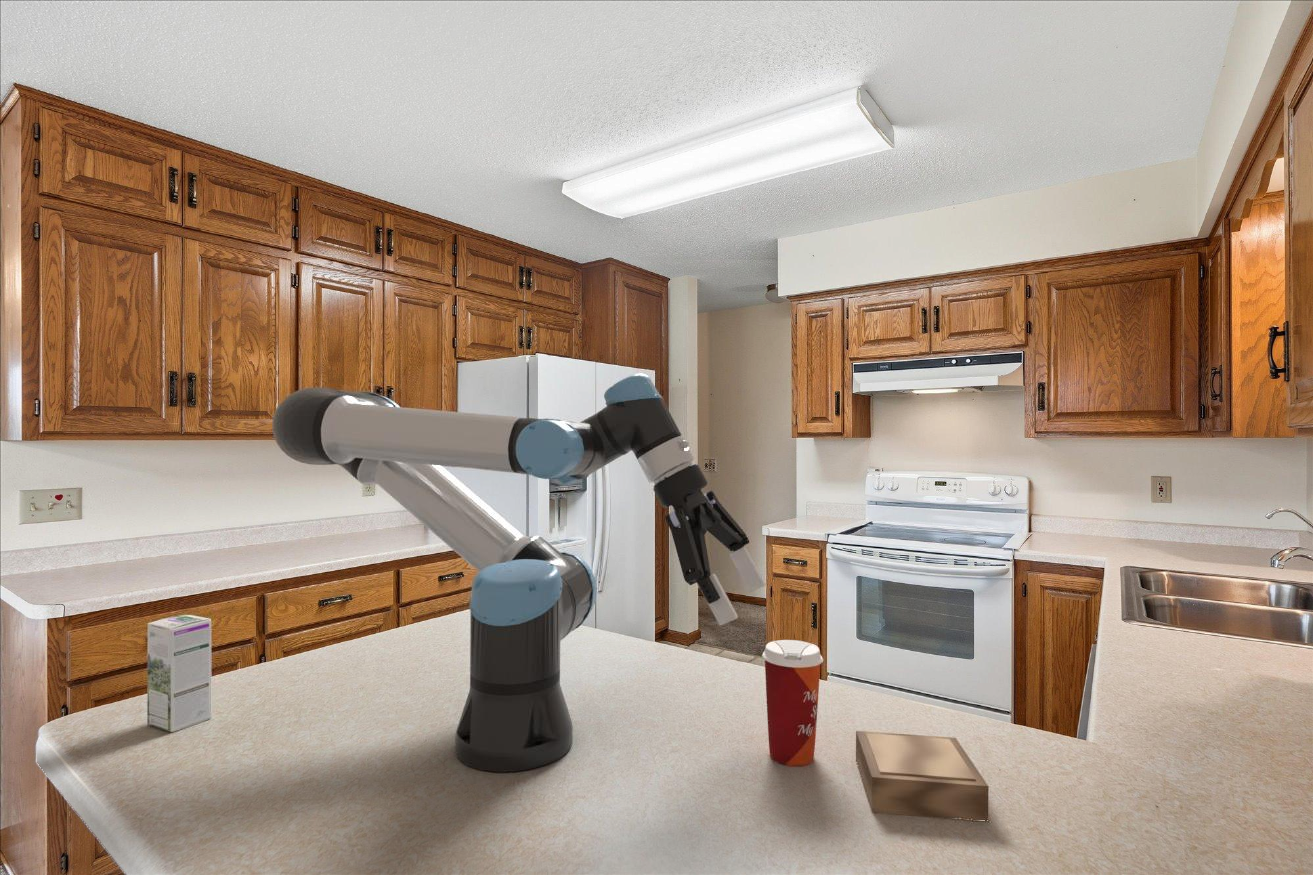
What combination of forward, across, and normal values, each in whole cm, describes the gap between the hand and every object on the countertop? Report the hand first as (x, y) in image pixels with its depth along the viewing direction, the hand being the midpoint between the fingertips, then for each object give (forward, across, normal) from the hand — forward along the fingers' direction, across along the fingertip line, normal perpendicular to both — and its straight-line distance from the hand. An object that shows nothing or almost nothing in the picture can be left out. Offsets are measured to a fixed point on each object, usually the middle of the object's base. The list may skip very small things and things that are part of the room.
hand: (744, 604), depth 97 cm
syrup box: (-23, -37, +69) cm, 82 cm away
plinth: (+25, -11, -13) cm, 30 cm away
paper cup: (+18, -9, 0) cm, 21 cm away
